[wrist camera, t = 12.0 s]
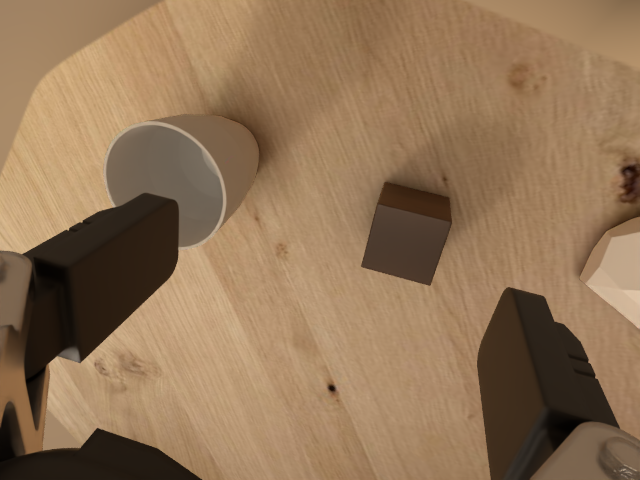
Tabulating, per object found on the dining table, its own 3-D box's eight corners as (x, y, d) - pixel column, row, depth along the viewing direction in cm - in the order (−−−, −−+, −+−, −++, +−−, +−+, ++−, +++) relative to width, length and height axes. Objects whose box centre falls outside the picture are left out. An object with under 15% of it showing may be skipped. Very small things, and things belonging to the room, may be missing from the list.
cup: (191, 85, 34) (107, 101, 25) (289, 119, 34) (237, 149, 25) (177, 180, 38) (100, 224, 29) (265, 213, 37) (213, 268, 28)
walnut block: (384, 181, 34) (377, 203, 29) (449, 197, 33) (452, 222, 29) (369, 239, 36) (360, 267, 32) (430, 255, 35) (430, 286, 31)
